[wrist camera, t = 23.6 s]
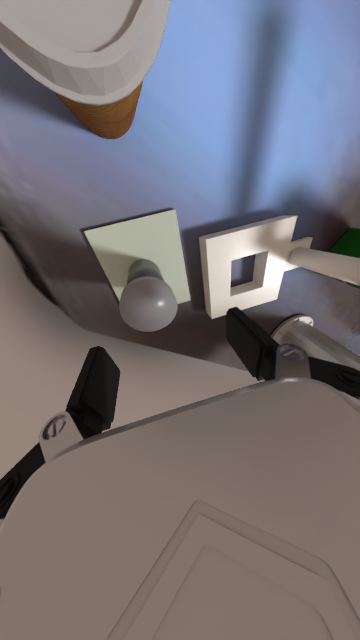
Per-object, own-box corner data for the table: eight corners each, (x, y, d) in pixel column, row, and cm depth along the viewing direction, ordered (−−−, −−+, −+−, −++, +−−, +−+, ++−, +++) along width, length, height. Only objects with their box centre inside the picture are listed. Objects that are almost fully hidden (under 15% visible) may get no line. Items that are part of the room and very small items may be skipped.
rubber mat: (189, 298, 28) (190, 300, 28) (128, 316, 27) (128, 318, 27) (174, 209, 20) (175, 209, 19) (85, 230, 19) (83, 231, 19)
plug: (157, 251, 22) (170, 274, 14) (166, 287, 25) (181, 322, 17) (118, 261, 21) (107, 291, 13) (133, 296, 25) (132, 337, 17)
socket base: (293, 284, 33) (357, 313, 23) (205, 311, 31) (236, 353, 22) (317, 206, 24) (434, 200, 15) (198, 236, 23) (244, 253, 13)
